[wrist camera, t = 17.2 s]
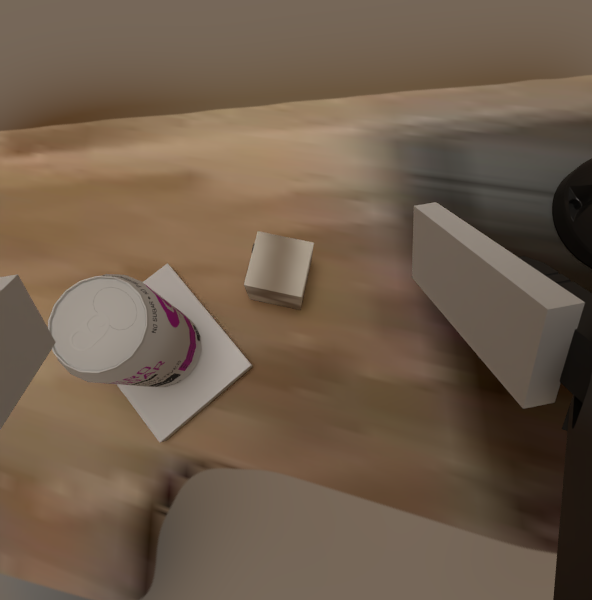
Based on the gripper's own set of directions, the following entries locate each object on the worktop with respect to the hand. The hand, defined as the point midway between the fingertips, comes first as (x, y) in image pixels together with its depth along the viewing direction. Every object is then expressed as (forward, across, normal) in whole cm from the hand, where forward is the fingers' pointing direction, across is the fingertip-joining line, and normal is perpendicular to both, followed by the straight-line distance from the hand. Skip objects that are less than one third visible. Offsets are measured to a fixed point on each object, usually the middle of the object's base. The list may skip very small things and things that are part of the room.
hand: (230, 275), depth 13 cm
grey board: (+25, -11, -20) cm, 34 cm away
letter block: (+29, +2, -16) cm, 33 cm away
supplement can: (+23, -11, -19) cm, 32 cm away
